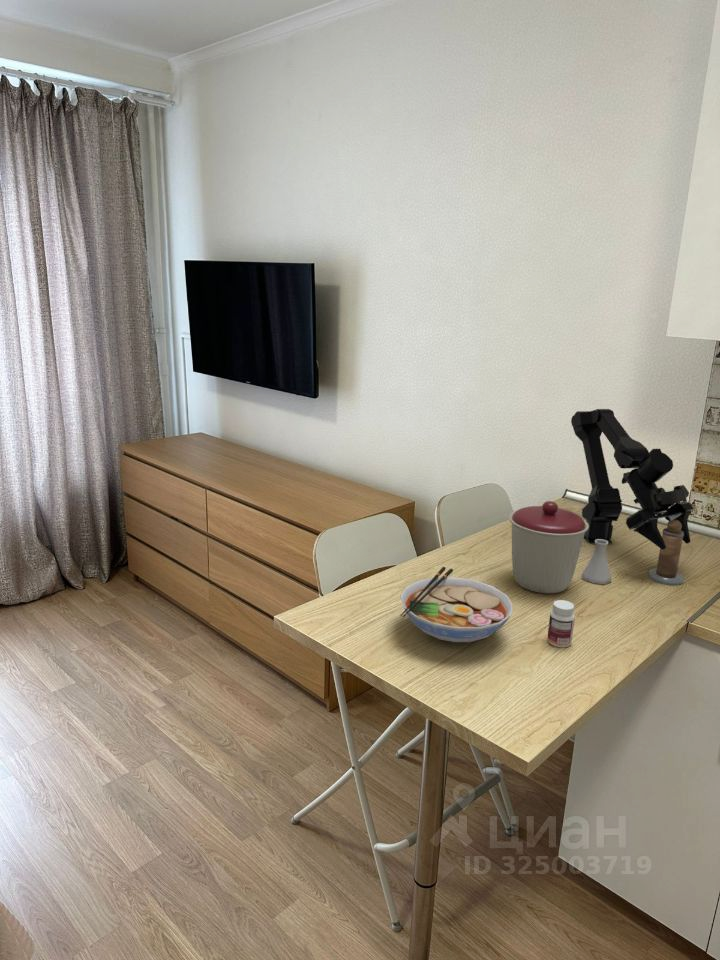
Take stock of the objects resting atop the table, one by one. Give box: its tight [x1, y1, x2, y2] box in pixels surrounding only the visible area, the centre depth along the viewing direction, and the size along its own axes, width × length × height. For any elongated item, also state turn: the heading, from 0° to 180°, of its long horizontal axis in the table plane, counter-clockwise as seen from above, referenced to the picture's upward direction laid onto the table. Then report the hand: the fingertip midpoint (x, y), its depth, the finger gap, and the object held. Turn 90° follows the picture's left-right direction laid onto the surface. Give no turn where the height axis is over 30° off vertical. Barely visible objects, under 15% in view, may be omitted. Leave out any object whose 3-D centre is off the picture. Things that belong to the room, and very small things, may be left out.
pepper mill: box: [656, 520, 684, 578], centre depth 164 cm, size 5×5×14 cm
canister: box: [508, 500, 589, 594], centre depth 158 cm, size 18×18×21 cm
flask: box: [581, 539, 612, 585], centre depth 164 cm, size 7×7×10 cm
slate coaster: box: [648, 567, 685, 586], centre depth 166 cm, size 8×8×1 cm
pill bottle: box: [546, 599, 576, 648], centre depth 134 cm, size 5×5×8 cm
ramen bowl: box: [400, 566, 514, 643], centre depth 136 cm, size 25×23×8 cm
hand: (676, 545), depth 163 cm, fingers open, 9 cm apart
